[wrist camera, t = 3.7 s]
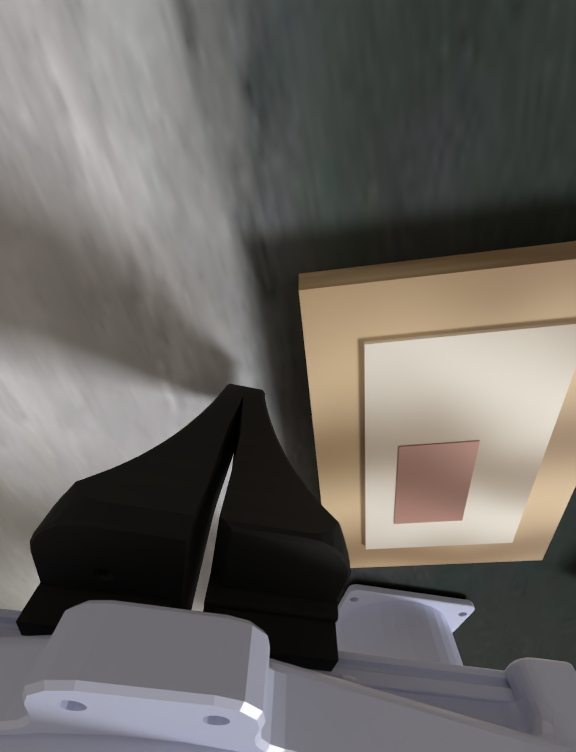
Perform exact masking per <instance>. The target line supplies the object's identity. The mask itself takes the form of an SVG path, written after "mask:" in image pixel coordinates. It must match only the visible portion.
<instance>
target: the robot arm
mask: <svg viewBox="0 0 576 752" xmlns="http://www.w3.org/2000/svg"><path fill="white" fill-rule="evenodd" d="M233 454H234V456H233ZM232 457H233V465H232V472H231V476H230V480H229V484H228V487H227V491H226V495H225V499H224V502H223V506H222V510H221V513H220V518H219V524H218V530H217V537H216V543H215V549H214V556H213V562H212V568H211V574H210V578H209V583H208V587H207V592H206V597H205V601H204V610H203V612H200V611H193V610H191V609H192V604H193V600H194V596H195V591H196V587H197V582H198V578H199V574H200V569H201V565H202V561H203V556H204V552H205V548H206V544H207V539H208V535H209V531H210V527H211V522H212V518H213V514H214V511H215V507H216V504H217V501H218V498H219V495H220V492H221V489H222V486H223V483H224V480H225V477H226V474H227V471H228V468H229V466H230V463H231V460H232ZM30 549H31V553H32V556H33V560H34V563H35V566H36V569H37V572H38V576H39V579H40V584H39V586H38V587H37V589H36V590H35V592H34V593H33V595H32V597H31V598H30V600H29V601H28V603H27V604H26V606H25V608H24V609H23V611H17V610H9V609H1V608H0V752H576V671H575V670H574V668H573V666H572V665H571V664H569V663H568V662H562V661H555V660H547V659H539V658H521V659H518V660H516V661H513V662H512V663H511V664H510V665H509V666H508V667H507V668H506V670H505V671H502V670H494V669H486V668H478V667H470V666H463V664H462V661H461V658H460V655H459V652H458V649H457V646H456V643H455V640H454V637H453V634H452V633H453V632H454V631H455V630H456V629H457V628H458V627H459V626H460V625H461V624H462V622H463V621H464V620H465V619H466V618H467V617H468V616H469V615H470V614H471V613H472V612H473V611H474V609H475V608H474V605H473V603H472V602H471V601H470V600H466V599H459V598H452V597H445V596H438V595H430V594H423V593H416V592H409V591H402V590H395V589H388V588H381V587H374V586H367V585H360V584H354V585H351V586H349V587H348V589H347V591H346V592H345V594H344V596H343V598H342V600H341V601H340V603H339V605H337V600H338V598H339V596H340V594H341V592H342V591H343V589H344V587H345V585H346V583H347V581H348V579H349V576H350V573H351V570H350V560H349V554H348V550H347V546H346V542H345V539H344V535H343V532H342V529H341V526H340V523H339V522H338V521H337V520H336V519H335V518H334V517H333V516H332V515H331V514H330V513H329V512H328V511H327V510H326V509H325V508H324V507H323V506H322V505H321V504H320V503H319V502H318V501H317V500H316V498H315V497H314V496H313V495H312V494H311V492H310V491H309V490H308V488H307V487H306V486H305V484H304V483H303V482H302V480H301V479H300V477H299V476H298V475H297V473H296V472H295V470H294V469H293V467H292V465H291V464H290V462H289V460H288V459H287V457H286V455H285V453H284V451H283V449H282V447H281V445H280V443H279V441H278V439H277V436H276V434H275V431H274V429H273V426H272V423H271V420H270V417H269V414H268V410H267V406H266V402H265V393H264V391H263V390H261V389H255V388H250V387H244V386H239V385H234V384H229V385H227V386H226V387H225V389H224V390H223V391H222V392H221V394H220V395H219V396H218V397H217V398H216V399H215V400H214V401H213V402H212V403H211V404H210V405H209V406H208V407H207V408H206V409H205V410H204V411H203V412H202V413H201V414H200V415H199V416H197V417H196V418H195V419H194V420H193V421H192V422H190V423H189V424H188V425H187V426H186V427H184V428H183V429H182V430H180V431H179V432H177V433H176V434H175V435H173V436H172V437H170V438H169V439H167V440H166V441H164V442H163V443H161V444H159V445H158V446H156V447H154V448H153V449H151V450H149V451H147V452H146V453H144V454H142V455H140V456H138V457H136V458H134V459H132V460H130V461H128V462H126V463H123V464H121V465H119V466H117V467H114V468H112V469H109V470H107V471H104V472H101V473H99V474H96V475H93V476H91V477H88V478H85V479H82V480H80V481H77V482H75V483H74V484H73V485H72V486H71V488H70V489H69V490H68V491H67V492H66V493H65V494H64V495H63V496H62V497H61V498H60V499H59V501H58V502H57V503H56V504H55V505H54V506H53V508H52V509H51V510H50V512H49V513H48V514H47V516H46V517H45V518H44V520H43V521H42V522H41V524H40V525H39V527H38V528H37V529H36V531H35V532H34V533H33V536H32V538H31V540H30Z"/></svg>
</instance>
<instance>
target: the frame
mask: <svg viewBox="0 0 576 752" xmlns="http://www.w3.org/2000/svg"><path fill="white" fill-rule="evenodd" d="M299 298H300V307H301V317H302V326H303V335H304V345H305V354H306V364H307V373H308V382H309V392H310V401H311V410H312V420H313V429H314V439H315V448H316V457H317V467H318V476H319V486H320V495H321V504H322V506H323V507H324V508H325V509H326V510H327V511H328V512H329V513H330V514H331V515H332V516H333V517H334V518H335V519H336V520H337V521H338V522H339V523H340V526H341V529H342V532H343V535H344V539H345V542H346V546H347V550H348V554H349V560H350V568H360V567H384V566H408V565H433V564H457V563H481V562H505V561H529V560H542V559H543V557H544V554H545V552H546V550H547V548H548V546H549V543H550V541H551V539H552V537H553V535H554V532H555V530H556V528H557V526H558V524H559V521H560V519H561V517H562V515H563V513H564V510H565V508H566V506H567V504H568V502H569V500H570V497H571V495H572V493H573V491H574V489H575V486H576V241H571V242H563V243H554V244H546V245H537V246H529V247H520V248H512V249H503V250H495V251H486V252H478V253H469V254H461V255H452V256H444V257H435V258H427V259H419V260H410V261H402V262H393V263H385V264H376V265H368V266H359V267H351V268H342V269H334V270H325V271H317V272H308V273H300V274H299Z"/></svg>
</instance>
